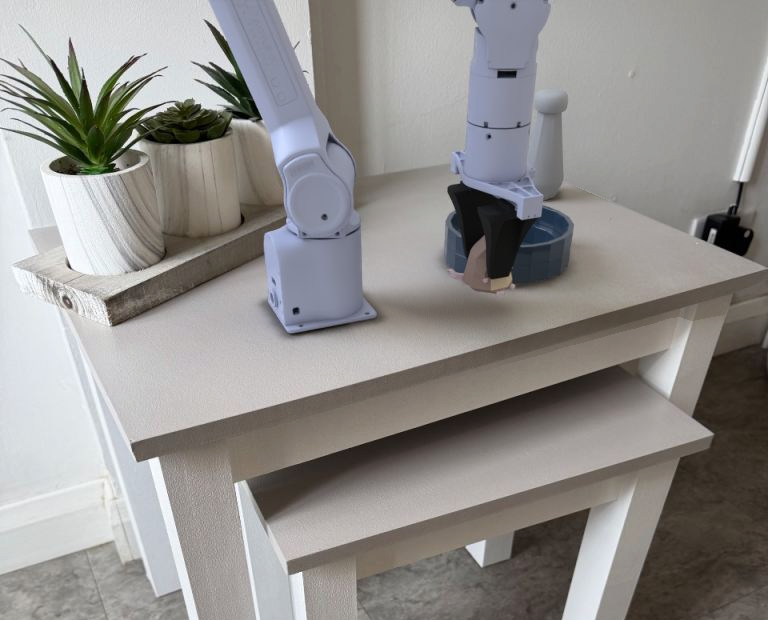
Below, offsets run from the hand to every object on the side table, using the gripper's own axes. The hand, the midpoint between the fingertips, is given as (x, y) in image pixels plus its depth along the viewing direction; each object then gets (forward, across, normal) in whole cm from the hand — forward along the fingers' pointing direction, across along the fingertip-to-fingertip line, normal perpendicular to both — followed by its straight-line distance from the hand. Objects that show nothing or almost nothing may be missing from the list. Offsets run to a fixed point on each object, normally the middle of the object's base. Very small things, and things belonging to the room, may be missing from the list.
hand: (487, 267), depth 79 cm
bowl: (+4, +10, -8) cm, 14 cm away
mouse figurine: (+2, +1, 0) cm, 3 cm away
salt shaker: (+5, +28, -23) cm, 37 cm away
